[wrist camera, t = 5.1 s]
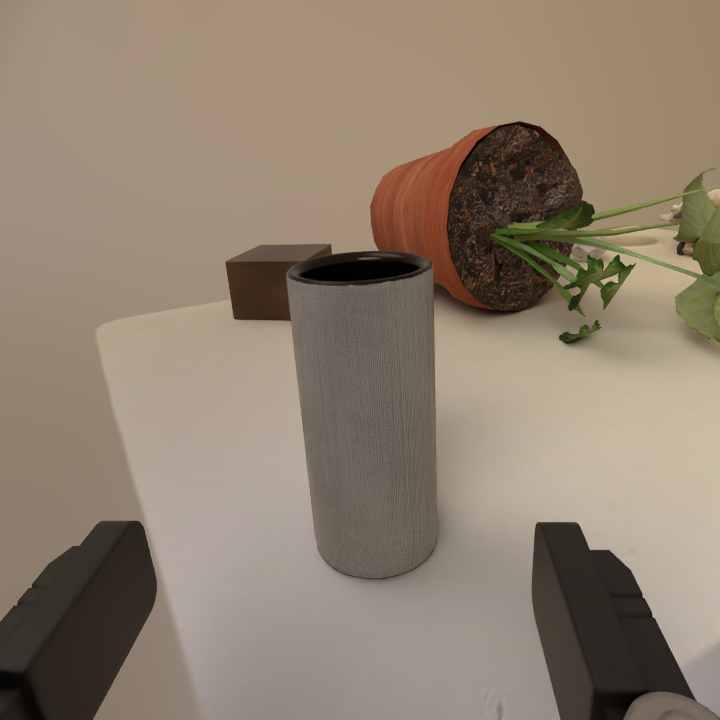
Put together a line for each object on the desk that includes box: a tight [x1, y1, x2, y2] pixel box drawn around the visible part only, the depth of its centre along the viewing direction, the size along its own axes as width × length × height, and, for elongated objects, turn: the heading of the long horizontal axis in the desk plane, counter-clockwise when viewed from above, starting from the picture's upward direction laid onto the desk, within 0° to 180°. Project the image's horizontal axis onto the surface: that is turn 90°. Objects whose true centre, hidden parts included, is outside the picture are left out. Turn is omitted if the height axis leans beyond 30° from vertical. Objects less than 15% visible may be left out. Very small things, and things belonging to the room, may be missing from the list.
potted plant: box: [370, 121, 720, 343], centre depth 40 cm, size 16×15×35 cm
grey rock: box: [571, 230, 606, 262], centre depth 61 cm, size 4×4×3 cm
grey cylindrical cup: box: [286, 251, 437, 578], centre depth 20 cm, size 4×4×10 cm
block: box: [226, 244, 332, 320], centre depth 50 cm, size 7×7×5 cm
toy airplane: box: [660, 190, 720, 255], centre depth 60 cm, size 9×9×6 cm
